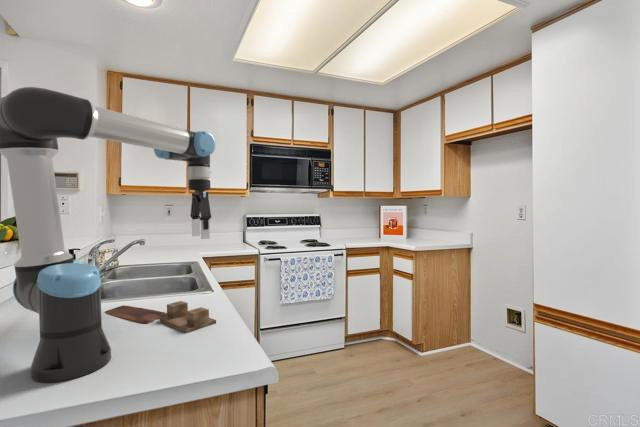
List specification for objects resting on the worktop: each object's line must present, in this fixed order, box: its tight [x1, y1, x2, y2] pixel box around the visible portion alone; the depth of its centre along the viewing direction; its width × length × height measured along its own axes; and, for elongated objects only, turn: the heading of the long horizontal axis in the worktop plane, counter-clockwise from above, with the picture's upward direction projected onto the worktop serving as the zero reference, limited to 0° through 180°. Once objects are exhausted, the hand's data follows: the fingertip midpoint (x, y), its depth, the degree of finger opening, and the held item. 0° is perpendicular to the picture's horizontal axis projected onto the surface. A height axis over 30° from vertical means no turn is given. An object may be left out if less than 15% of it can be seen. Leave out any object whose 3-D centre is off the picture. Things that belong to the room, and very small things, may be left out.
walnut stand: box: [159, 300, 217, 334], centre depth 108 cm, size 10×16×5 cm, turn 52°
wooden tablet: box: [103, 305, 167, 325], centre depth 117 cm, size 26×2×10 cm
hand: (200, 237), depth 124 cm, fingers open, 13 cm apart
